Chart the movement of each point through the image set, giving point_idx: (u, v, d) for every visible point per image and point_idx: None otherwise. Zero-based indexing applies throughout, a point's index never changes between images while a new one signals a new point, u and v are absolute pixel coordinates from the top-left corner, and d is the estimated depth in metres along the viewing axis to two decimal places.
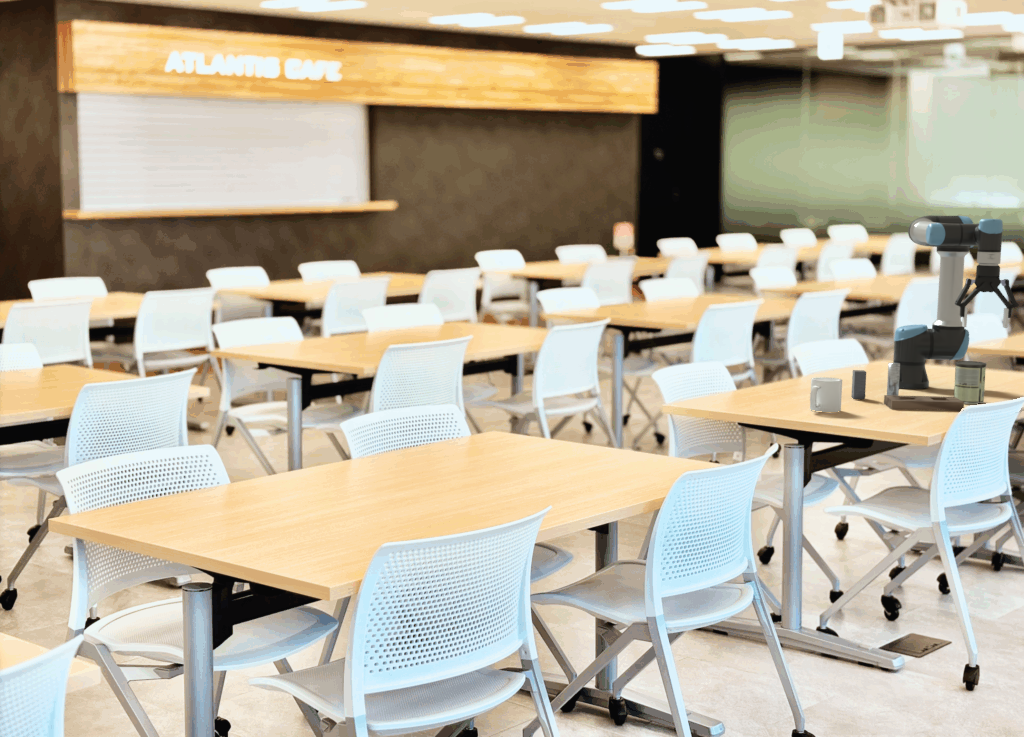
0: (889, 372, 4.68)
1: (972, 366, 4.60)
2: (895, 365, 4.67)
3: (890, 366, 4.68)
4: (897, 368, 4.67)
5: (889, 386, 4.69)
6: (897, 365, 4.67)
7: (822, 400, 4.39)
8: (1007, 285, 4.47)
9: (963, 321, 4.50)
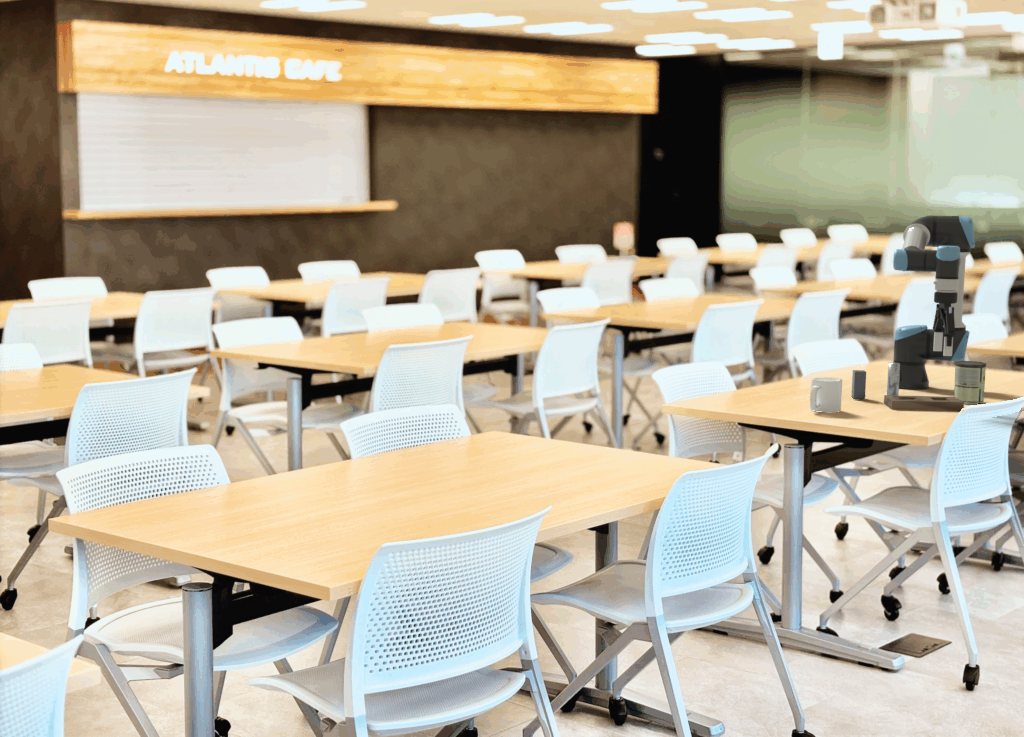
0: (889, 372, 4.68)
1: (972, 366, 4.60)
2: (895, 365, 4.67)
3: (890, 366, 4.68)
4: (897, 368, 4.67)
5: (889, 386, 4.69)
6: (897, 365, 4.67)
7: (822, 400, 4.39)
8: (946, 313, 4.43)
9: None
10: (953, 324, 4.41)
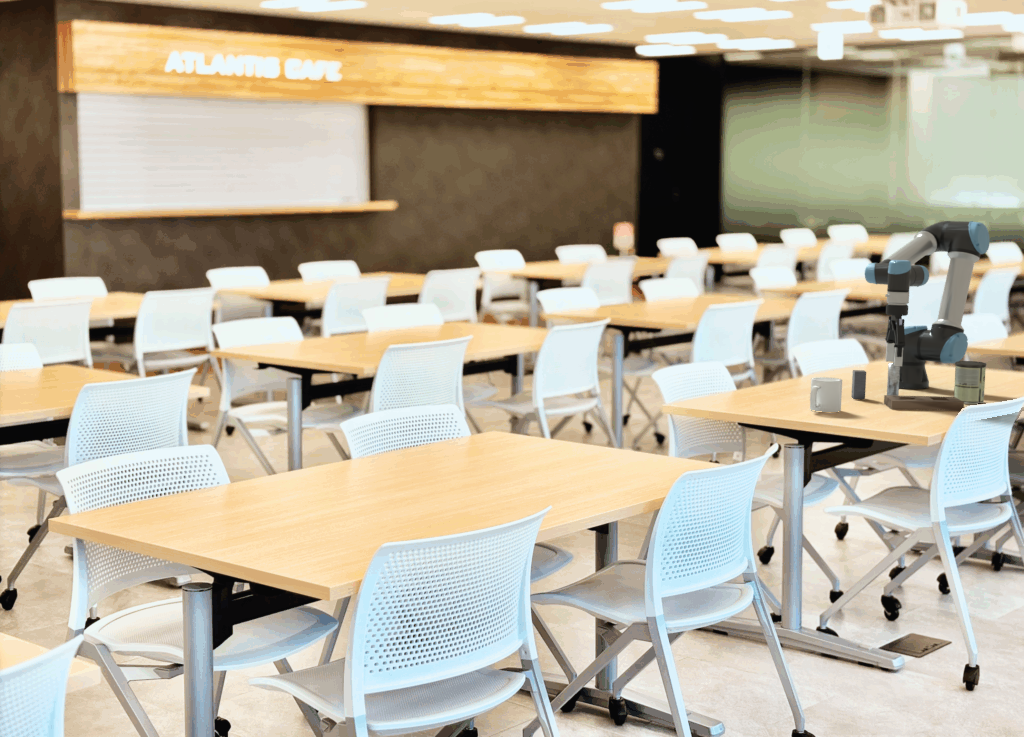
0: (889, 372, 4.68)
1: (972, 366, 4.60)
2: None
3: (890, 366, 4.68)
4: (897, 368, 4.67)
5: (889, 386, 4.69)
6: None
7: (822, 400, 4.39)
8: (896, 324, 4.61)
9: None
10: (903, 335, 4.59)
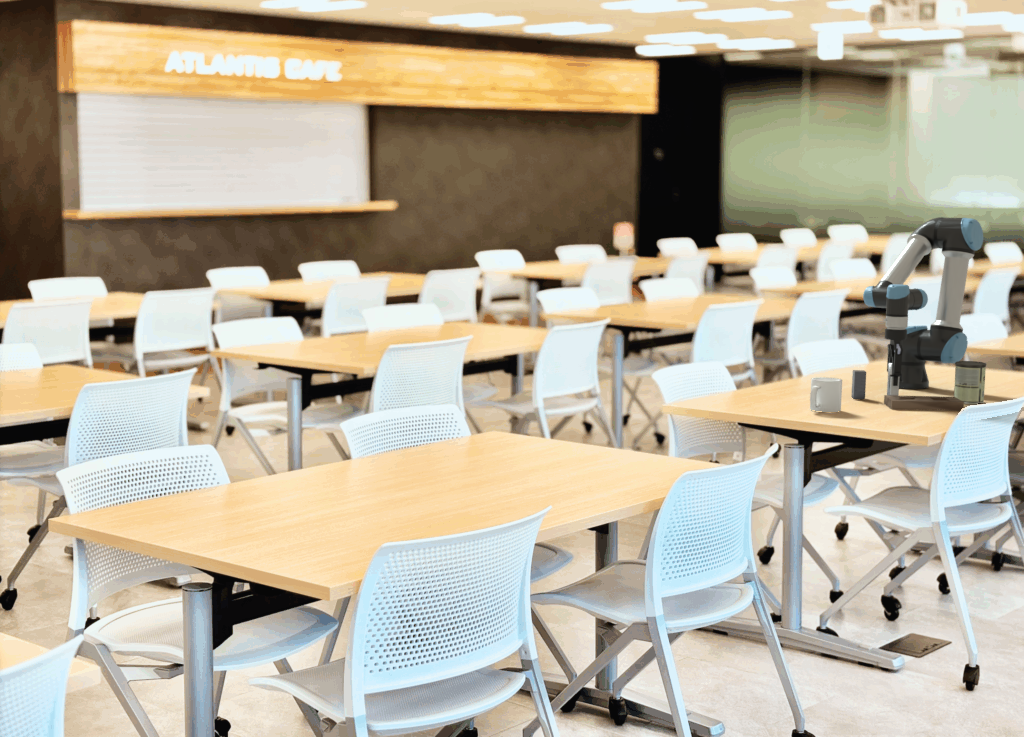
0: (889, 372, 4.68)
1: (972, 366, 4.60)
2: None
3: (890, 366, 4.68)
4: None
5: (889, 386, 4.69)
6: None
7: (822, 400, 4.39)
8: (894, 353, 4.63)
9: None
10: (900, 365, 4.63)
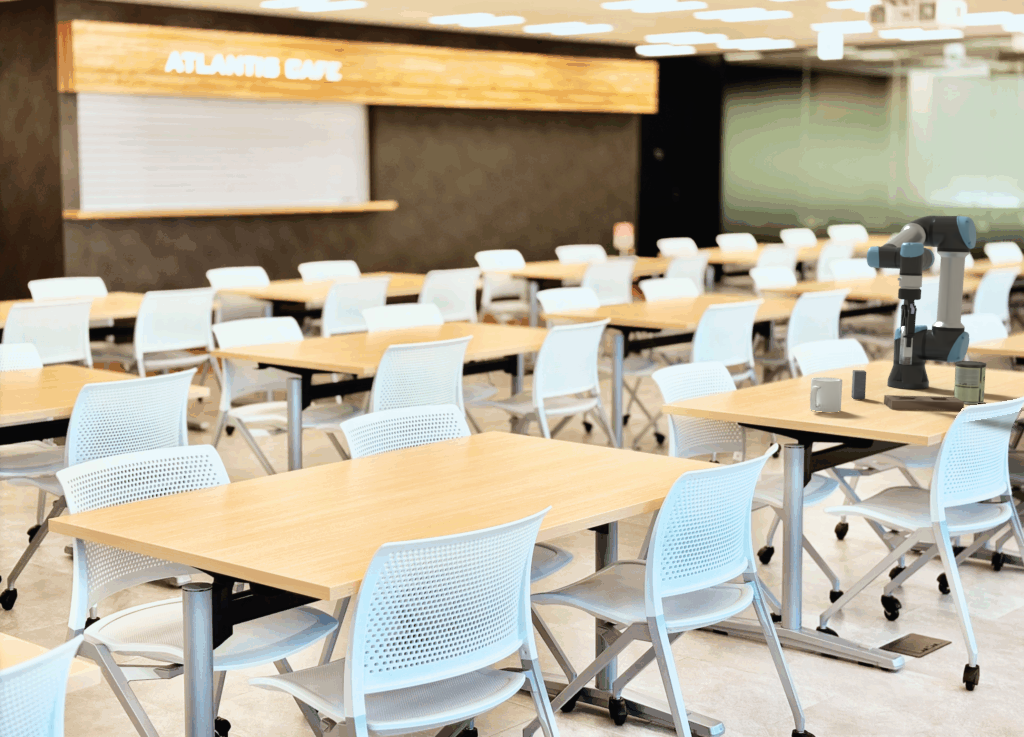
0: (902, 335, 4.53)
1: (972, 366, 4.60)
2: None
3: (903, 329, 4.53)
4: None
5: (902, 350, 4.53)
6: None
7: (822, 400, 4.39)
8: (908, 313, 4.48)
9: None
10: (913, 326, 4.48)
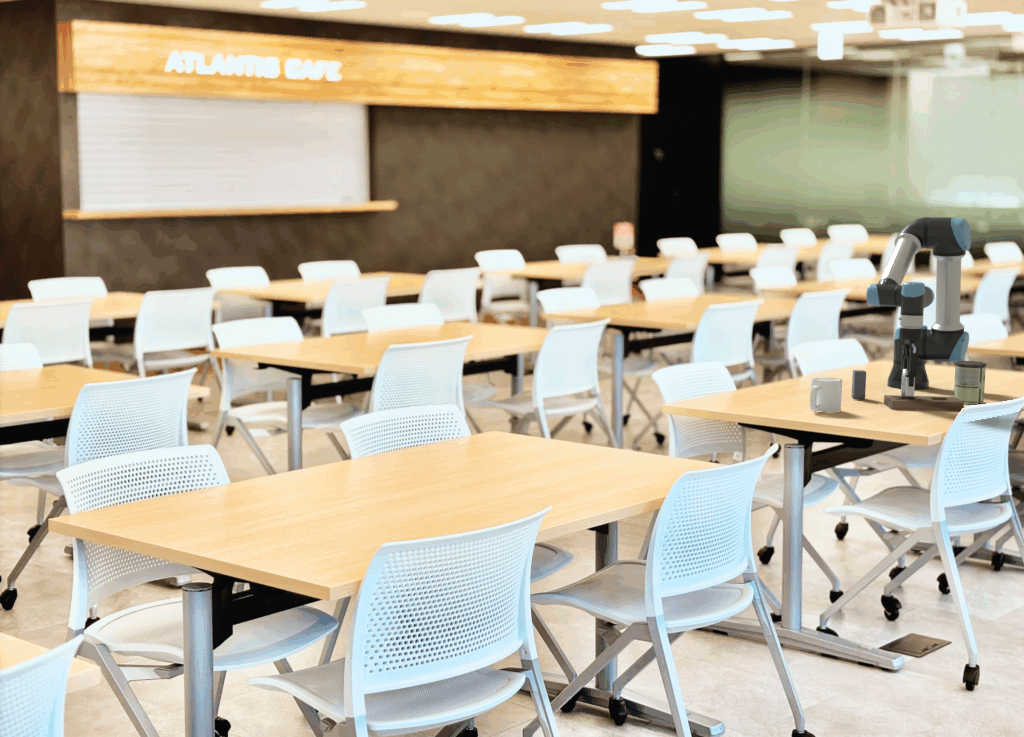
0: (903, 378, 4.52)
1: (972, 366, 4.60)
2: None
3: (904, 372, 4.52)
4: None
5: (903, 393, 4.53)
6: None
7: (822, 400, 4.39)
8: (910, 352, 4.47)
9: None
10: (916, 365, 4.46)
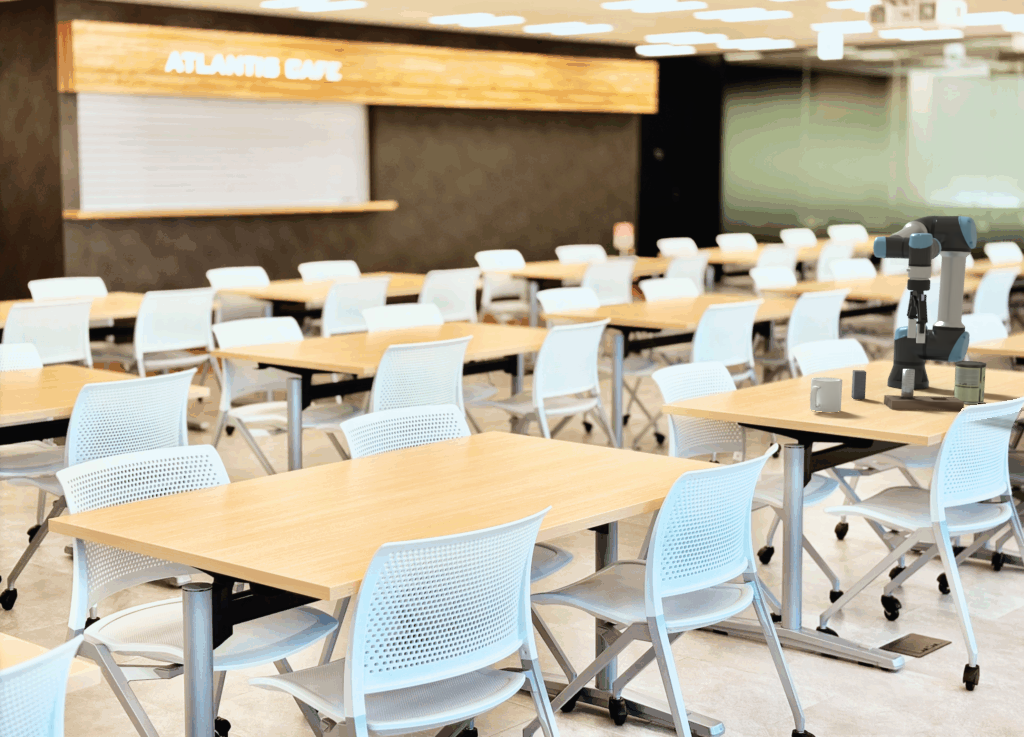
0: (903, 378, 4.53)
1: (972, 366, 4.60)
2: (910, 371, 4.51)
3: (904, 372, 4.52)
4: (912, 374, 4.51)
5: (903, 393, 4.53)
6: (912, 371, 4.51)
7: (822, 400, 4.39)
8: (918, 300, 4.47)
9: None
10: (925, 311, 4.45)
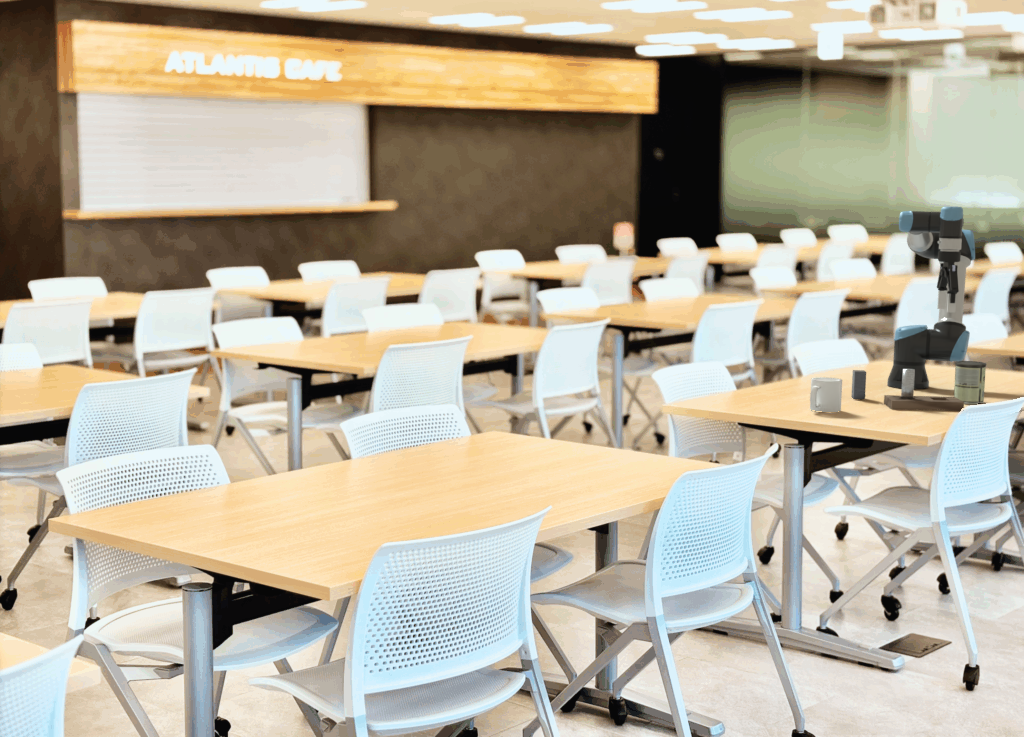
0: (903, 378, 4.53)
1: (972, 366, 4.60)
2: (910, 371, 4.51)
3: (904, 372, 4.52)
4: (912, 374, 4.51)
5: (903, 393, 4.53)
6: (912, 371, 4.51)
7: (822, 400, 4.39)
8: (949, 271, 4.61)
9: None
10: (956, 281, 4.59)
